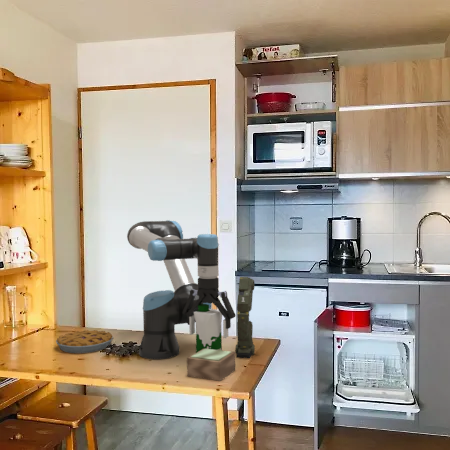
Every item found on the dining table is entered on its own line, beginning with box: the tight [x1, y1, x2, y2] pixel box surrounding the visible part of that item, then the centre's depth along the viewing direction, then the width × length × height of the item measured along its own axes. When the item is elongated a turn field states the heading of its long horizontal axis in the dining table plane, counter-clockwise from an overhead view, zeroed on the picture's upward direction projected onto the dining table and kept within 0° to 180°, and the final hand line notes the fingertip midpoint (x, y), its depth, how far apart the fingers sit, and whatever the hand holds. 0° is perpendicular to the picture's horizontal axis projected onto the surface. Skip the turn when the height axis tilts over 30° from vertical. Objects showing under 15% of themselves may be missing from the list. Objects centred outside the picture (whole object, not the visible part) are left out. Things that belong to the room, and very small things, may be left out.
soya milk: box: [194, 304, 223, 353], centre depth 185 cm, size 9×9×20 cm
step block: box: [186, 349, 236, 382], centre depth 172 cm, size 12×12×6 cm
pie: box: [55, 329, 114, 354], centre depth 205 cm, size 22×22×5 cm
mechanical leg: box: [234, 276, 256, 359], centre depth 194 cm, size 14×7×30 cm, turn 168°
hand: (208, 335), depth 185 cm, fingers open, 13 cm apart
